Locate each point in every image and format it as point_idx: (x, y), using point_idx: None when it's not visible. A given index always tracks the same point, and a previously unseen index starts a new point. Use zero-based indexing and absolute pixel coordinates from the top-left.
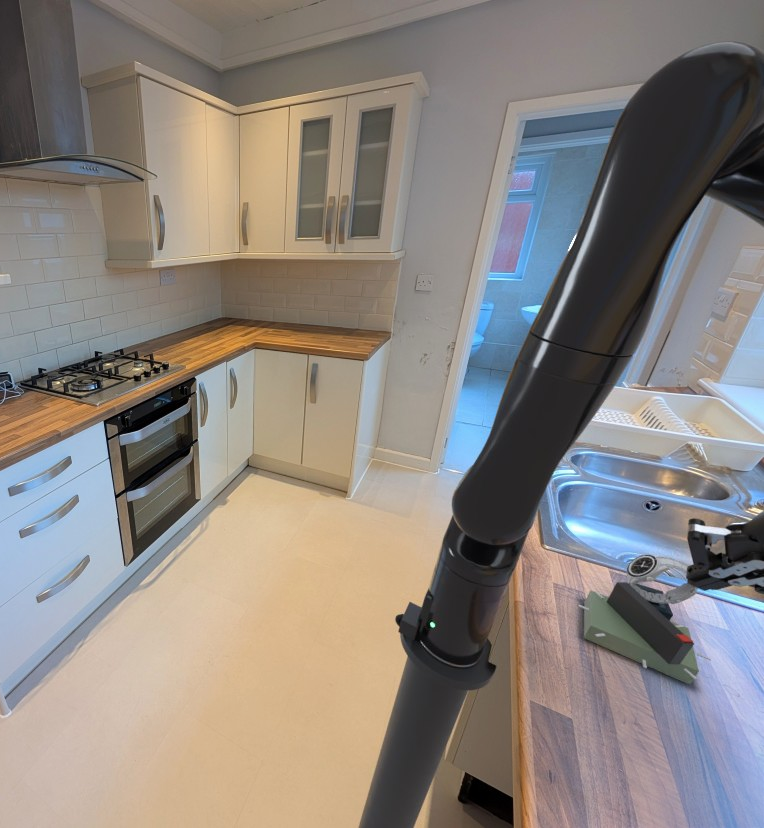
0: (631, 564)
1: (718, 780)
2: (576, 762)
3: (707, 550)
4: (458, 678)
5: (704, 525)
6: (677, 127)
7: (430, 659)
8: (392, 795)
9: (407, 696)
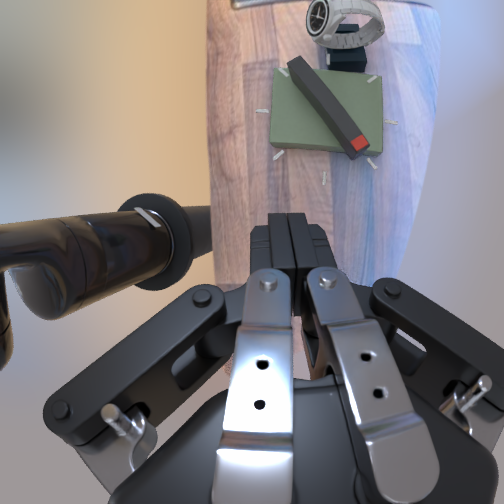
0: (309, 13)
1: (372, 278)
2: None
3: (178, 392)
4: (162, 285)
5: (79, 440)
6: None
7: None
8: None
9: None
